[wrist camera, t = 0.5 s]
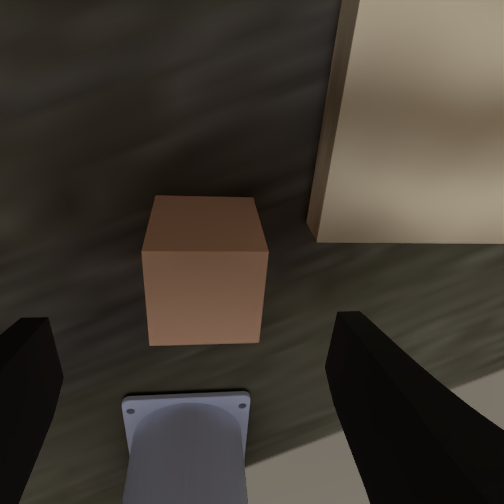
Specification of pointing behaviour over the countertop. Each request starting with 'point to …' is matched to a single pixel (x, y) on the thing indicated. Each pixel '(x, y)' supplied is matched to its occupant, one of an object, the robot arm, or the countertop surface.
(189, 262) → the block
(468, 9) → the base
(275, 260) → the countertop surface
